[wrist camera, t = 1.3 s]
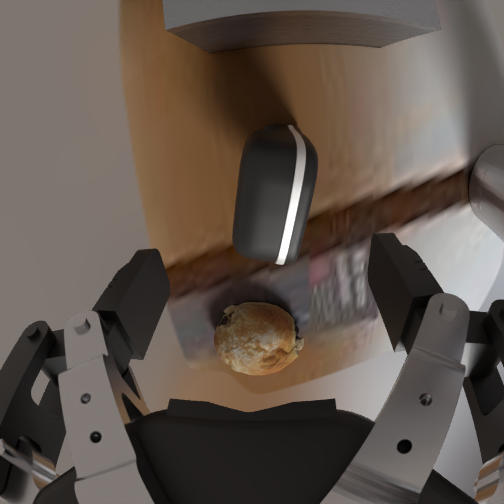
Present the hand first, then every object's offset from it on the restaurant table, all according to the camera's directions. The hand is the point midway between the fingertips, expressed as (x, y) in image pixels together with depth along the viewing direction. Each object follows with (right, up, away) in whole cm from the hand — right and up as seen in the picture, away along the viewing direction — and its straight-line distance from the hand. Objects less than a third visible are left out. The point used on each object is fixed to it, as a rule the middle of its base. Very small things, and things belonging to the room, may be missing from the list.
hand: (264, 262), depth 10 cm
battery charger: (+1, +8, +13) cm, 15 cm away
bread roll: (+1, -9, +24) cm, 25 cm away
